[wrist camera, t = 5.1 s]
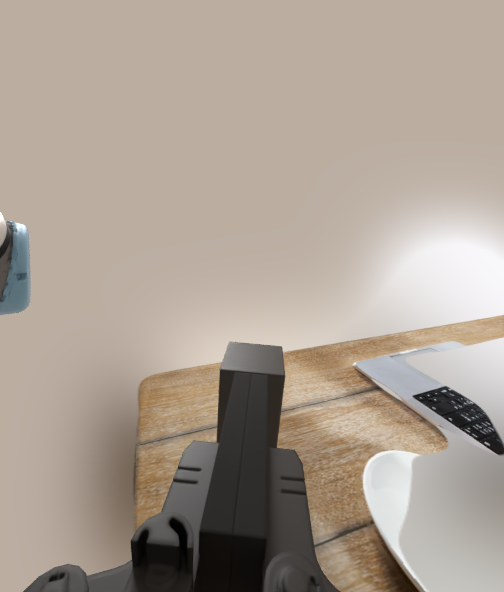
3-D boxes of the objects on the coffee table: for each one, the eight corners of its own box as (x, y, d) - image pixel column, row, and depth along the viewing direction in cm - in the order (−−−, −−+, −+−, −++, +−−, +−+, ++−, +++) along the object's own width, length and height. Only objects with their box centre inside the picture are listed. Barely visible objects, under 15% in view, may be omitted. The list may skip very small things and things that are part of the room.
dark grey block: (213, 501, 22) (219, 369, 19) (223, 454, 26) (229, 341, 23) (269, 507, 22) (285, 375, 18) (269, 459, 26) (282, 346, 23)
